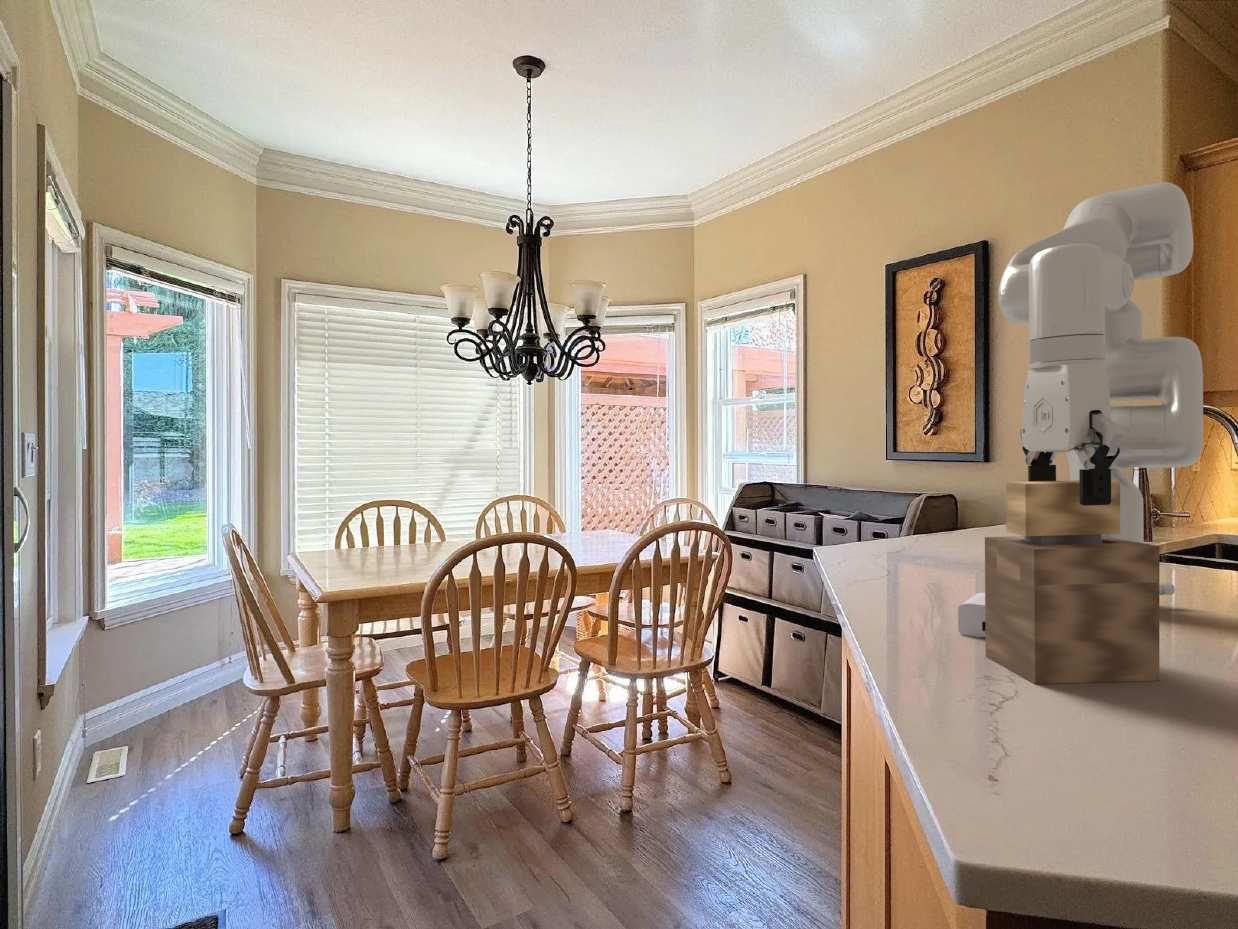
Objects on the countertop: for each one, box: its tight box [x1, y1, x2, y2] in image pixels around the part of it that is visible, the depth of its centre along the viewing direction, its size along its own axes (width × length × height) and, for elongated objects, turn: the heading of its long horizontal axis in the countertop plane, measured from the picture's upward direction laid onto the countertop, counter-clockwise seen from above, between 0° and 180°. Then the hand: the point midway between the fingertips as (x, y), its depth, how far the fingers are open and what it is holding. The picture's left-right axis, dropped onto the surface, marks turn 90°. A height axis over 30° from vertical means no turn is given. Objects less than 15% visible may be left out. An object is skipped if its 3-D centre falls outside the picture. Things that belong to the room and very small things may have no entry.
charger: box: [957, 592, 986, 639], centre depth 104 cm, size 5×9×15 cm
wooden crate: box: [984, 535, 1160, 685], centre depth 85 cm, size 14×10×15 cm
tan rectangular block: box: [1005, 480, 1120, 545], centre depth 85 cm, size 11×4×11 cm, turn 91°
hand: (1067, 500), depth 85 cm, fingers open, 9 cm apart
